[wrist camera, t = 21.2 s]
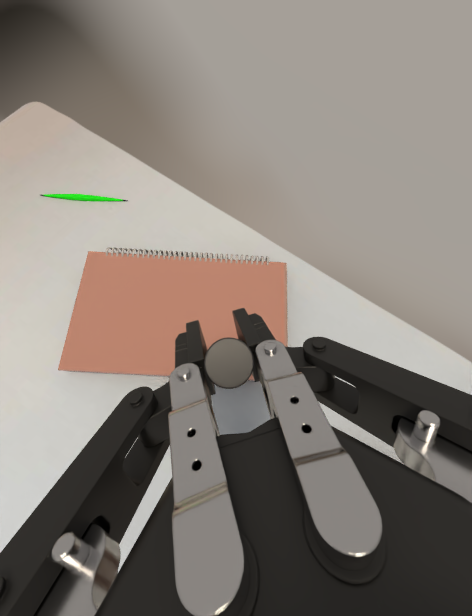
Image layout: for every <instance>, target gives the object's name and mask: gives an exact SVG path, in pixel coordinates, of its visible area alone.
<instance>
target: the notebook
mask: <svg viewBox="0 0 472 616" xmlns="http://www.w3.org/2000/svg"><path fill="white" fill-rule="evenodd" d="M109 248H110V249H111V253H108V250H109ZM114 249H116V253H114ZM119 249H121V251H122V253H119ZM124 250H126V251H127V254H125V253H124ZM130 250H131V251H132V254H129V251H130ZM135 250H136V252H137V254H134V251H135ZM140 250H141V252H142V254H139V252H140ZM145 251H146V252H147V255H144V253H145ZM150 251H151V253H152V255H150ZM155 252H156V253H157V255H155ZM160 252H161V253H162V256H160ZM165 253H166V254H167V256H165ZM171 254H172V256H170V255H171ZM176 255H177V256H176ZM181 255H182V257H181ZM186 256H187V257H186ZM240 308H245V310H246V312H247V313H248V315H250V314H254V313H256V314H257V315H259V316H261V317H262V319H263V320H264V322H265V323H266V325H267V327H268V328H269V330H270V331H271V333H272V334H273V336H274V338H275V339H276V340H277V341H280V342H282V343H283V344H284V346H285V347H288V342H287V268H286V263H281V262H269V257H266V261H265V262H264V258H263V256H261V260H260V261H258V256H256V259H255V261H253V256H251V260H250V261H248V255H246V260H243V255H241V260H238V255H236V260H233V254H231V260H229V259H228V254H226V257H225V259H223V254H221V256H220V259H218V254H216V255H215V259H213V254H212V253H211V254H210V258H208V253H205V258H203V253H200V258H198V253H197V252H195V256H194V257H193V253H192V252H190V255H189V257H188V252H185V254H184V257H183V252H182V251H181V252H180V253H179V257H178V252H177V251H175V252H174V255H173V252H172V251H169V254H168V251H164V254H163V251H162V250H160V251H159V252H158V251H157V250H154V252H153V251H152V250H149V251H148V250H146V249H145V250H142V249H139V250H137V249H133V250H132V249H131V248H130V249H128V250H127V249H126V248H123V249H122V248H118V249H117V248H111V247H108V248H107V249H106V252H91V251H88V255H87V259H86V263H85V267H84V271H83V275H82V279H81V282H80V286H79V290H78V294H77V298H76V302H75V306H74V310H73V313H72V317H71V321H70V325H69V329H68V333H67V337H66V341H65V344H64V348H63V352H62V356H61V360H60V364H59V368H58V370H64V371H82V372H102V373H121V374H140V375H160V376H170V374H171V372H172V371H173V370H174V369H175V340H176V338H177V336H178V335H179V334H180V333H184V332H186V323H188V322H192V321H196V320H199V323H200V326H201V330H202V333H203V336H204V339H205V343H206V346H207V350H208V349H209V347H210V346H211V345H212V344H213V343H214V342H216V341H217V340H219V339H222V338H228V337H230V338H236V339H238V336H237V332H236V327H235V323H234V318H233V313H232V311H233V310H237V309H240ZM248 380H254V378H253V375H252V374H251V376H250V378H249V379H248ZM259 381H260V380H259Z"/></svg>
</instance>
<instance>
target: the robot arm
mask: <svg viewBox="0 0 472 616" xmlns="http://www.w3.org/2000/svg"><path fill="white" fill-rule="evenodd" d="M232 313H233V318H234V323H235V327H236V332H237V336H238V339H239V340H241V341H243V342H244V343H245V344H247V346H248V347H249V348H250V350H251V351H252V354H253V357H254V369H253V372H252V375H253V378H254V380H255V382H256V381H259V380H260V382H261V384H262V389H263V394H264V397H265V401H266V404H267V407H268V411H269V414H270V418H271V419H270V420H268V421H267V422H265V423H264V424H262V425H260V426H259V427H257V428H256V429H254V430H252V431H251V432H249V433H240V434H226V435H220V433H219V429H218V425H217V422H216V418H215V415H214V411H213V407H212V400H211V395H213V394H215V389H214V383H213V382H211V380H210V379H209V378H208V376H207V374H206V372H205V368H204V359H205V355H206V352H207V346H206V343H205V339H204V336H203V333H202V330H201V326H200V323H199V320H196V321H192V322H188V323H186V332H184V333H180V334H179V335H178V336H177V338H176V340H175V369H174V370H173V371H172V372H171V374H170V377H169V382H168V383H166V384H165V385H163V386H162V387H160V388H158V389H156V390H155V391H152V389H151V388H149V387H140V388H137V389H134V390H133V391H131V392H129V393H128V394H127V395H126V396H125V397H124V398H123V399H122V401H121V402H120V403H119V404H118V406H117V407H116V408H115V410H114V411H113V412H112V413H111V415H110V416H109V417H108V418H107V420H106V421H105V422H104V423H103V425H102V426H101V427H100V428H99V430H98V431H97V432H96V433H95V435H94V436H93V437H92V438H91V440H90V441H89V442H88V444H87V445H86V446H85V447H84V449H83V450H82V451H81V452H80V454H79V455H78V456H77V457H76V459H75V460H74V461H73V462H72V464H71V465H70V466H69V467H68V469H67V470H66V471H65V472H64V474H63V475H62V476H61V477H60V479H59V480H58V481H57V483H56V484H55V485H54V486H53V488H52V489H51V490H50V491H49V493H48V494H47V495H46V496H45V498H44V499H43V500H42V501H41V503H40V504H39V505H38V506H37V508H36V509H35V510H34V511H33V513H32V514H31V515H30V517H29V518H28V519H27V520H26V522H25V523H24V524H23V525H22V527H21V528H20V529H19V530H18V532H17V533H16V534H15V535H14V537H13V538H12V539H11V540H10V542H9V543H8V544H7V545H6V547H5V548H4V549H3V551H2V552H1V553H0V616H472V395H470V394H467V393H465V392H462V391H460V390H457V389H455V388H452V387H450V386H447V385H445V384H442V383H439V382H437V381H434V380H432V379H429V378H427V377H424V376H422V375H419V374H417V373H414V372H411V371H409V370H406V369H404V368H401V367H399V366H396V365H394V364H391V363H389V362H386V361H383V360H381V359H378V358H376V357H373V356H371V355H368V354H366V353H363V352H360V351H358V350H355V349H353V348H350V347H348V346H345V345H343V344H340V343H338V342H335V341H332V340H330V339H327V338H324V337H312V338H309V339H307V340H306V341H305V342H304V344H303V347H285V346H284V344H283V343H282V342H280V341H277V340H276V339H275V338H274V336H273V334H272V333H271V331H270V330H269V328H268V327H267V325H266V323H265V322H264V320H263V319H262V317H261V316H259V315H257V314H256V313H254V314H250V315H248V313H247V312H246V310H245V308H240V309H237V310H233V311H232ZM335 376H337V377H339V378H341V379H343V380H345V381H347V382H349V383H351V384H352V385H354V386H355V387H356V388H355V387H353V386H351V385H349V384H347V383H345V382H343V381H341V380H339V379H337V378H335ZM318 401H319V402H320V403H322V404H324V405H325V406H327V407H328V408H330V409H332V410H333V411H335V412H337V413H338V414H340V415H341V416H343V417H345V418H346V419H348V420H350V421H351V422H353V423H354V424H356V425H358V426H359V427H361V428H363V429H364V430H366V431H368V432H369V433H371V434H372V435H374V436H376V437H377V438H379V439H381V440H382V441H384V442H385V443H387V444H389V445H390V446H392V447H394V450H395V452H396V454H397V456H398V458H399V459H400V460H401V461H402V462H403V463H404V464H402V463H400V462H398V461H396V460H394V459H392V458H390V457H389V456H387V455H385V454H383V453H381V452H379V451H377V450H375V449H374V448H372V447H370V446H368V445H366V444H364V443H362V442H360V441H359V440H357V439H355V438H353V437H351V436H349V435H347V434H345V433H344V432H342V431H340V430H338V429H336V428H334V427H332V426H330V424H329V422H328V420H327V418H326V416H325V414H324V412H323V410H322V408H321V407H320V405H319V403H318ZM137 437H138V439H137ZM136 439H137V440H136ZM135 440H136V442H135ZM134 442H135V443H134ZM133 444H134V445H133ZM132 445H133V447H132ZM169 445H170V449H171V464H172V479H171V480H170V482H169V484H168V486H167V487H166V489H165V491H164V493H163V494H162V496H161V498H160V500H159V502H158V503H157V505H156V507H155V509H154V510H153V512H152V514H151V516H150V518H149V519H148V521H147V523H146V525H145V526H144V528H143V530H142V532H141V534H140V535H139V537H138V539H137V541H136V542H135V544H134V546H133V548H132V550H131V551H130V553H129V555H128V557H127V558H126V560H125V562H124V564H123V566H122V567H121V569H120V571H119V573H118V567H119V563H120V554H121V553H120V547H119V544H120V542H121V540H122V538H123V536H124V534H125V532H126V530H127V528H128V526H129V524H130V522H131V520H132V518H133V516H134V514H135V512H136V510H137V508H138V506H139V504H140V502H141V500H142V498H143V496H144V494H145V493H146V491H147V489H148V487H149V485H150V483H151V481H152V479H153V477H154V475H155V473H156V471H157V469H158V467H159V465H160V463H161V461H162V459H163V457H164V455H165V453H166V451H167V449H168V447H169ZM131 447H132V448H131ZM130 448H131V450H130ZM129 450H130V451H129ZM128 451H129V453H128ZM127 453H128V454H127ZM126 455H127V456H126ZM125 456H126V458H125Z"/></svg>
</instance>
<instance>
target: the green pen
mask: <svg viewBox="0 0 472 616" xmlns="http://www.w3.org/2000/svg"><path fill="white" fill-rule="evenodd" d="M42 196H48V197H55V198H62V199H70V200H81V201H128V200H121V199H114V198H107V197H100V196H92V195H82V194H50V195H42Z"/></svg>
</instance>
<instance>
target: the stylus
mask: <svg viewBox="0 0 472 616" xmlns="http://www.w3.org/2000/svg"><path fill="white" fill-rule="evenodd" d="M204 368H205V372H206V374H207V376H208V378H209V379H210V380H211V382H213V383H214V384H215V385H217V386H219V387H221V388H225V389H233V388H237V387H239V386H241V385H243V384H244V383H245V382H246V381H247V380H248V379H249V378H250V376H251V374H252V372H253V369H254V357H253V354H252V351H251V350H250V348H249V347H248V346H247V344H245V343H244V342H243V341H241V340H239V339H236V338H230V337H228V338H222V339H219V340H217V341H216V342H214V343H213V344H212V345H211V346H210V347H209V349H208V350H207V352H206V355H205V359H204Z"/></svg>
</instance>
